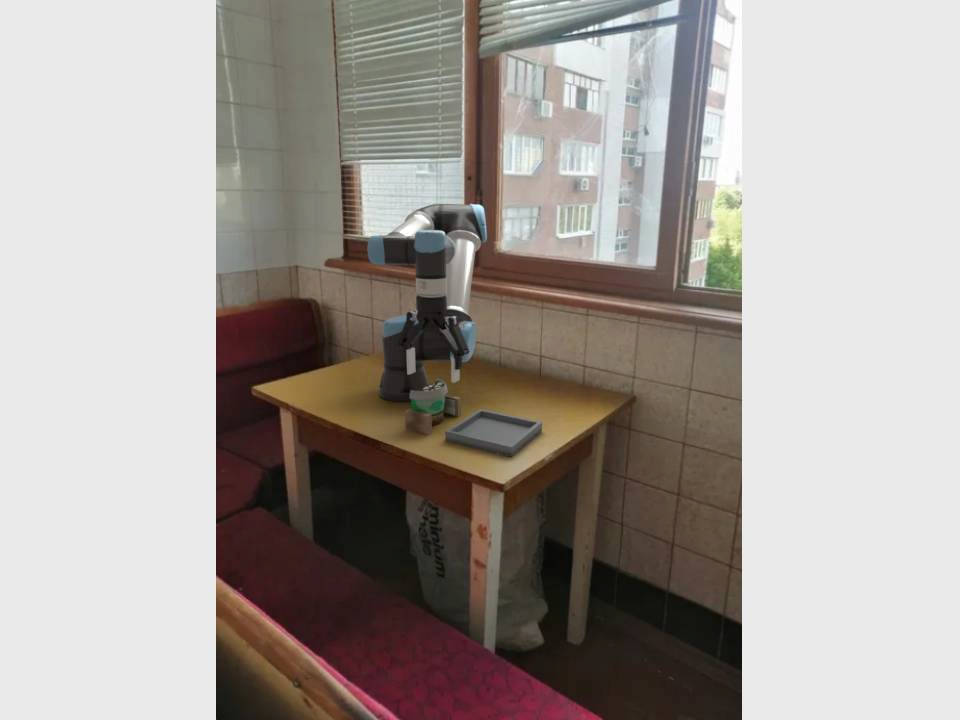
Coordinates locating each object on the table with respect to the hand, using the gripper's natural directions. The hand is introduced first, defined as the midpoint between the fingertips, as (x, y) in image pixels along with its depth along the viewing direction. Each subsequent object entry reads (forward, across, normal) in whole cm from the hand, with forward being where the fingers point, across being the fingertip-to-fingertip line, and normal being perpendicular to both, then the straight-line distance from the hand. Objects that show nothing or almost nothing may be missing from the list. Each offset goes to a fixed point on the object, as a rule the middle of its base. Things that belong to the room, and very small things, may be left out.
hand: (432, 377), depth 150 cm
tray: (+12, +18, 0) cm, 22 cm away
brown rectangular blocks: (+12, 0, 0) cm, 13 cm away
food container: (+13, 0, 0) cm, 13 cm away
